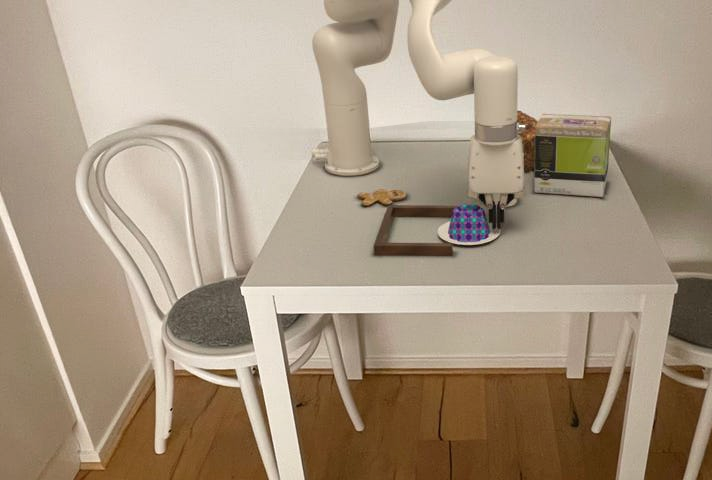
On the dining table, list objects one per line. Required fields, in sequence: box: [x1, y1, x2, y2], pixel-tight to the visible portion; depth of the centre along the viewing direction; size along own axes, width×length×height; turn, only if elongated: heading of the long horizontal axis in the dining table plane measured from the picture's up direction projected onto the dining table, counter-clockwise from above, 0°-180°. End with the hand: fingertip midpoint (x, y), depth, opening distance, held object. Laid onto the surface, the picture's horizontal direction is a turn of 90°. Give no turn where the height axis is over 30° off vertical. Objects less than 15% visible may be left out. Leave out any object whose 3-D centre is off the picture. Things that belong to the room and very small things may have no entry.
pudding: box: [437, 203, 501, 246], centre depth 144 cm, size 12×12×5 cm
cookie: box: [357, 188, 407, 207], centre depth 160 cm, size 8×1×10 cm
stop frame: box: [373, 204, 459, 257], centre depth 145 cm, size 14×18×2 cm
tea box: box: [533, 113, 612, 198], centre depth 161 cm, size 15×10×15 cm, turn 77°
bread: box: [517, 110, 539, 173], centre depth 178 cm, size 19×11×10 cm, turn 20°
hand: (496, 225), depth 144 cm, fingers closed
